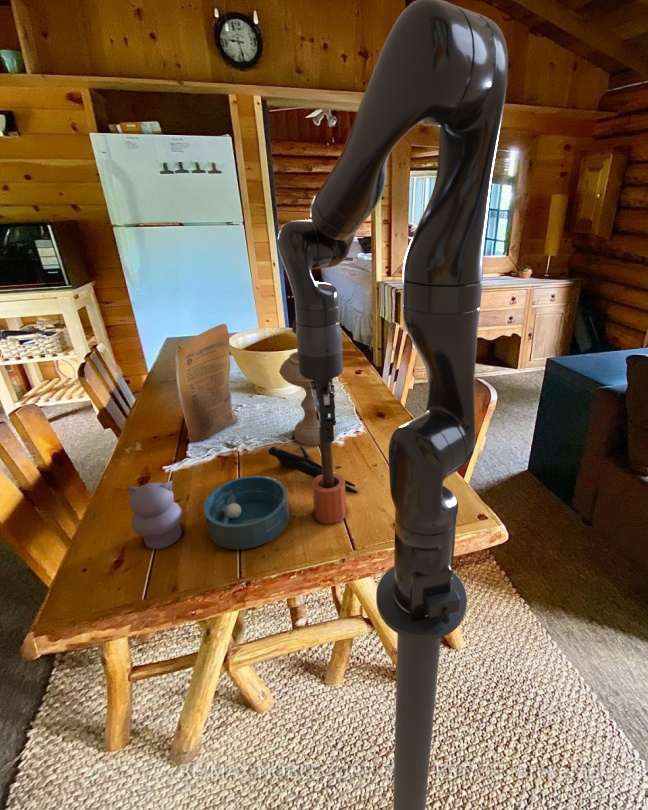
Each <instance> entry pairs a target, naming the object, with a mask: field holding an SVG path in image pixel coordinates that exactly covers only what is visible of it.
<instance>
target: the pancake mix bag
mask: <svg viewBox="0 0 648 810" xmlns="http://www.w3.org/2000/svg"><path fill="white" fill-rule="evenodd" d="M228 329H229V328H228V325H227V323H221V324H218V325H215V326H214V327H212V328H211V327H210V328H209V329H207V330H205V331H202V332H201V333H199V334H198V335H196V336H193V337H191V338H188V339H186V340H182V341H181V342H178V343H177V346H178V348H175V350H174V351H175V353H174V354H175V358H174V359H175V361H174V362H175V375H176V377H175V378H176V385H177V390H178V397H179V400H180V404H181V409H182V412H183V417H184V421H185V425H186V429H187V432H188V441H189V443H193V442H194V443H195V442H202V441H205V440H208V439H210V438H212V437H213V436H214V435H217V434H218V433H219V432H221V431H223V430H225V429H226V428H228V427H230V426H231V425H233V424H234V423H236V421H237V418H236V412H235V411H234V409H233V404H232V393H231V391H232V389H231V384H230V371H231V357H230V335H229V330H228Z"/></svg>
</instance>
